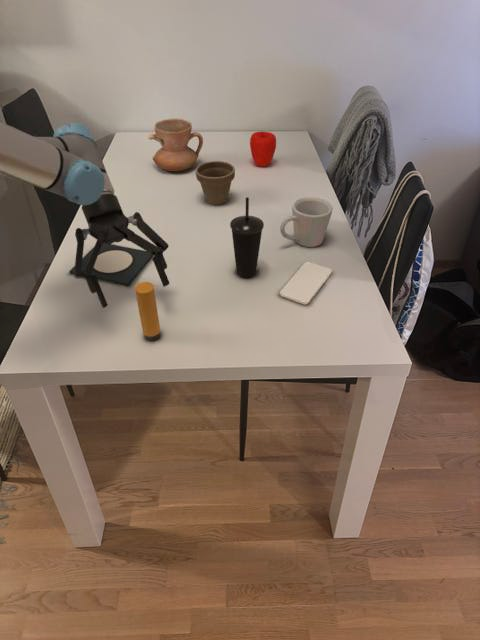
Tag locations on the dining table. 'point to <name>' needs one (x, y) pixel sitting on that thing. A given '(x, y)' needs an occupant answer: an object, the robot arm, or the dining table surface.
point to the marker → (148, 310)
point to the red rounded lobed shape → (262, 147)
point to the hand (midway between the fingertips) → (136, 295)
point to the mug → (308, 221)
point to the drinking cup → (246, 242)
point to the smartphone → (305, 283)
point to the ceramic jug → (175, 144)
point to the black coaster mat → (117, 263)
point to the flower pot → (215, 180)
